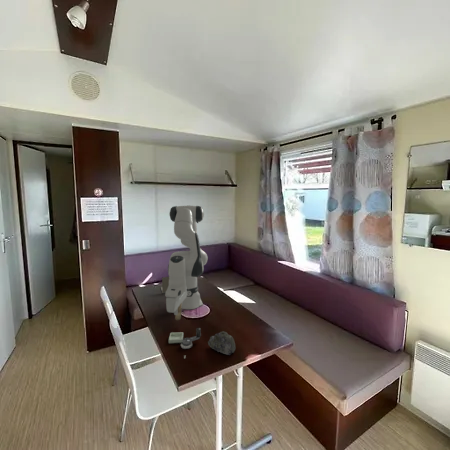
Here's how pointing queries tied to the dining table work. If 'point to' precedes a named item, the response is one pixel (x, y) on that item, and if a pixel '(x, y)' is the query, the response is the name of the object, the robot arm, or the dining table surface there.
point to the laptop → (165, 284)
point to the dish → (176, 337)
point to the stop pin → (178, 313)
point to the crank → (188, 340)
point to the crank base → (186, 347)
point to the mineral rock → (222, 343)
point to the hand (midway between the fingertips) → (177, 312)
